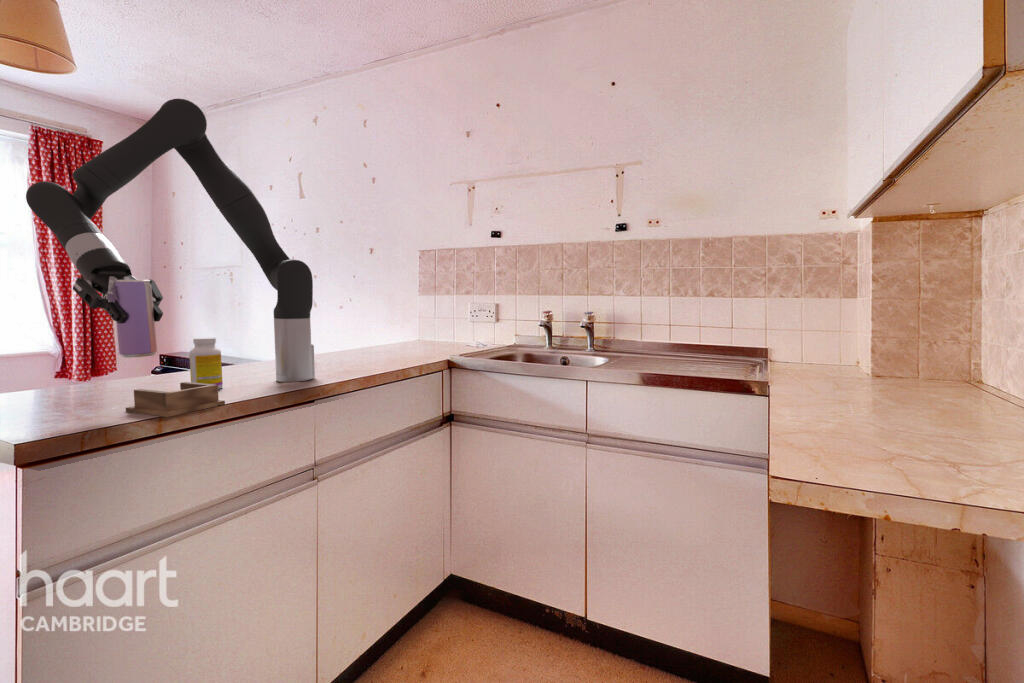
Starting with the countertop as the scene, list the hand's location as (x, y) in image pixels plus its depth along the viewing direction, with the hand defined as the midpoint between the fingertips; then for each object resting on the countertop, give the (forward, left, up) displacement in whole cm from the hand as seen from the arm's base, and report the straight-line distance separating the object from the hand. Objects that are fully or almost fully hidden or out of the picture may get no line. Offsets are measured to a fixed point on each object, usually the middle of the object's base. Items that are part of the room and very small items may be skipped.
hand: (141, 319), depth 94 cm
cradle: (-4, +3, -18) cm, 19 cm away
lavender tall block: (0, -2, -7) cm, 8 cm away
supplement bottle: (-21, -11, -19) cm, 30 cm away
